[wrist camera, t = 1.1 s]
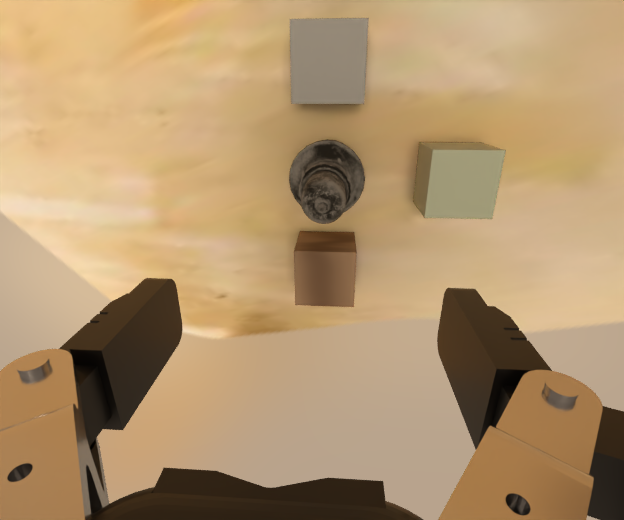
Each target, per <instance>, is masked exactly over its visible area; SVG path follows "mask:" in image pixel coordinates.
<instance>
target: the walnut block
mask: <svg viewBox="0 0 624 520" xmlns="http://www.w3.org/2000/svg"><path fill="white" fill-rule="evenodd" d="M356 253H357V252H356V244H355V235H354V232H312V231H300V233H299V237H298V240H297V243H296V247H295V250H294V262H295V305H311V306H340V307H354V292H355V273H356Z"/></svg>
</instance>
